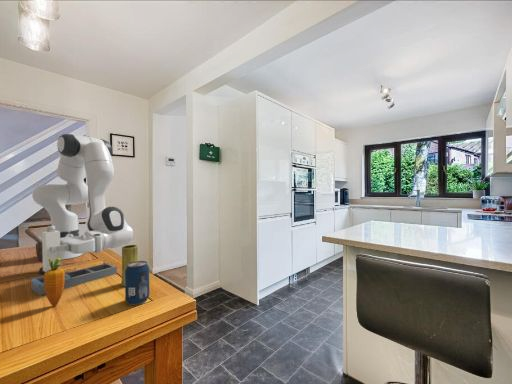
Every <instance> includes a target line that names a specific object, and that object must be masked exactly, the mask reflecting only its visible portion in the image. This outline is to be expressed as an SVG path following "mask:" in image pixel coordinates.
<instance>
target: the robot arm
mask: <svg viewBox="0 0 512 384" xmlns="http://www.w3.org/2000/svg"><path fill="white" fill-rule="evenodd" d="M56 144H57V145H56V147H57V151H58V152H59V153H60V158H59V161H58V164H57V169H56V174H57V176H58V178H59V179H61V180H63V182H67V183H66V184H55V183H54V184H53V183H51V184H42V185H37V186H36V187H35V188H34V189H33V191H32V195H31V196H32V200H33V202H34V203H36V204H37V205H39V206H41V207H42V208H44V210H46V211H47V214H49V217H50V222H51V225H50V226H55V230H57V231H60V246H52V247H50V251H51V252H56V251H61V255H60V259H62V260H61V261H63V260H68V259H72V258H77V257H80V256H82V255H83V254H91V253H96V254H97V253H101V252H102V251H105V250H106V249H115V248H119V247H121V248H122V247H123V246H127V245H130V243H131V242H132V240H133V238H134V229H133V228H132V227H131V226H130V225H129V224H128V223H127V221H126V218H125V216H124V212H123V211H122V210H121V209H120V208H118V207H116V206H107V205H106V196H105V195H106V191H107V189H108V187H109V185H110V184H111V183H112V181H113V179H114V177H115V167H114V161H113V158H112V152H113V147H112V145H111V143H110V142H109V141H107V140H105V139H102V138H96V137H92V136H87V135H86V136H85V135H78V134H72V133H71V134H70V133H66V134H65V133H64V134H61V135H59V136H58V139H57V142H56ZM85 176H86V182H87V184H86V183H85V178H84V177H85ZM86 203H88V206H89V207H88V208H89V217H88V219H87V225H86V226H87V229H88V230H87V231H86V230H85V232H84V233H83V234H81V235H80V229H79V217H78V215H77V213H75V212H72V211H70V210H68V209H67V208H66V206H68V205H69V206H70V205H82V204H86ZM106 206H107V207H106Z"/></svg>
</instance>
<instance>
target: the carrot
mask: <svg viewBox="0 0 512 384" xmlns="http://www.w3.org/2000/svg"><path fill="white" fill-rule="evenodd" d="M59 261H63V260H62V259H60V258H56V260H55V262H54V265H53V261H52V259H49V262H50V267H51V270H48V271H47V272H46V273H45V274H43V276H44V288H45V293H46V294H45V295H46V298H47V300H48V302H49V303H50V304H51V305H52V306H53V307H57V305H58V303H59V302H60V300H61V298H62V295H63V292H64V290H65V289H64V283H65V273H66V271H65V269H63V268H62V267H61V268H58V267H59V266H60V265H62V264H58V263H59ZM57 264H58V265H57Z"/></svg>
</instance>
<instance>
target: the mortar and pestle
mask: <svg viewBox="0 0 512 384" xmlns="http://www.w3.org/2000/svg"><path fill="white" fill-rule="evenodd" d="M24 232H25V234H26V235H27V236H28V237H30V239H31V238H32V240H34V241H35V242H36V243H35V254H36V258H37V260H38V261H39V263H42V264H43V253H42V236H41V235H39V233H38V231H36V229H34V228H33V227H28V228H27V229H26V228H25V230H24ZM60 255H61V251H60ZM45 273H46V272H45V271H43V265H42V266H41V267H40V268H39V270H38V274H39V275H40V274H41V275H42V274H43V275H44V274H45Z"/></svg>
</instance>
